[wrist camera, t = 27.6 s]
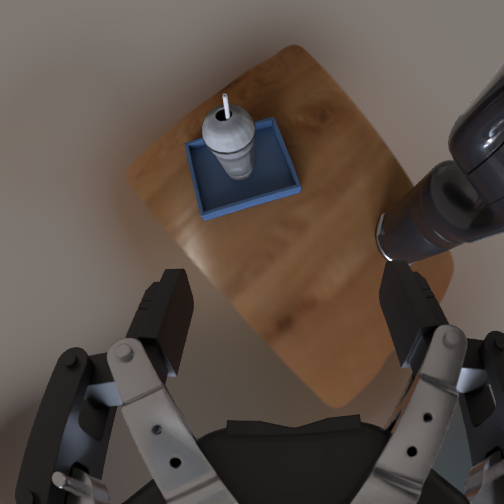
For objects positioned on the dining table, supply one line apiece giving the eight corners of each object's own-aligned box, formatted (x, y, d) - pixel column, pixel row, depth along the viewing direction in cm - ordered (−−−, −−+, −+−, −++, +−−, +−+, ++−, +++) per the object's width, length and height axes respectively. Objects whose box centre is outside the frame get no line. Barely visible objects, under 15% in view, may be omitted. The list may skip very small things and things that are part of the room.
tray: (274, 124, 50) (273, 116, 48) (300, 192, 47) (301, 186, 45) (188, 150, 51) (184, 143, 48) (204, 220, 48) (200, 216, 45)
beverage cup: (236, 143, 49) (212, 63, 30) (270, 162, 48) (262, 83, 28) (210, 174, 49) (171, 102, 29) (244, 196, 47) (221, 126, 28)
